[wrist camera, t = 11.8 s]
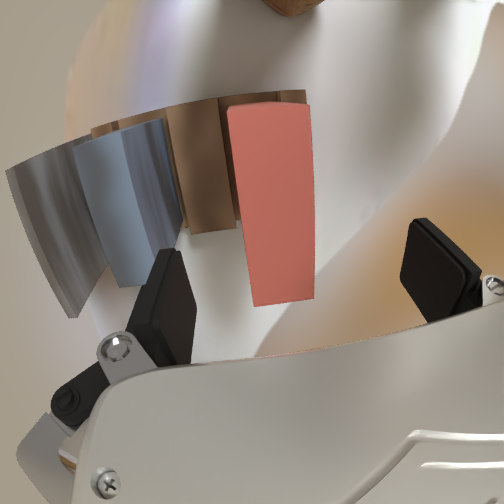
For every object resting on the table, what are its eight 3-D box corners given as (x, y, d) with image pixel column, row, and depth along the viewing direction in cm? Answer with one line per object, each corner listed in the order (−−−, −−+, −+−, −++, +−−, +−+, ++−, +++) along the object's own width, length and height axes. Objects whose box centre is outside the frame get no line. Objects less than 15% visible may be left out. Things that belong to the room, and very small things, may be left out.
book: (269, 101, 26) (309, 104, 12) (278, 207, 32) (313, 298, 18) (229, 105, 26) (226, 111, 12) (243, 211, 32) (253, 306, 18)
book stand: (298, 90, 26) (362, 86, 13) (306, 208, 33) (355, 292, 20) (94, 128, 26) (3, 164, 13) (123, 234, 34) (71, 322, 20)
